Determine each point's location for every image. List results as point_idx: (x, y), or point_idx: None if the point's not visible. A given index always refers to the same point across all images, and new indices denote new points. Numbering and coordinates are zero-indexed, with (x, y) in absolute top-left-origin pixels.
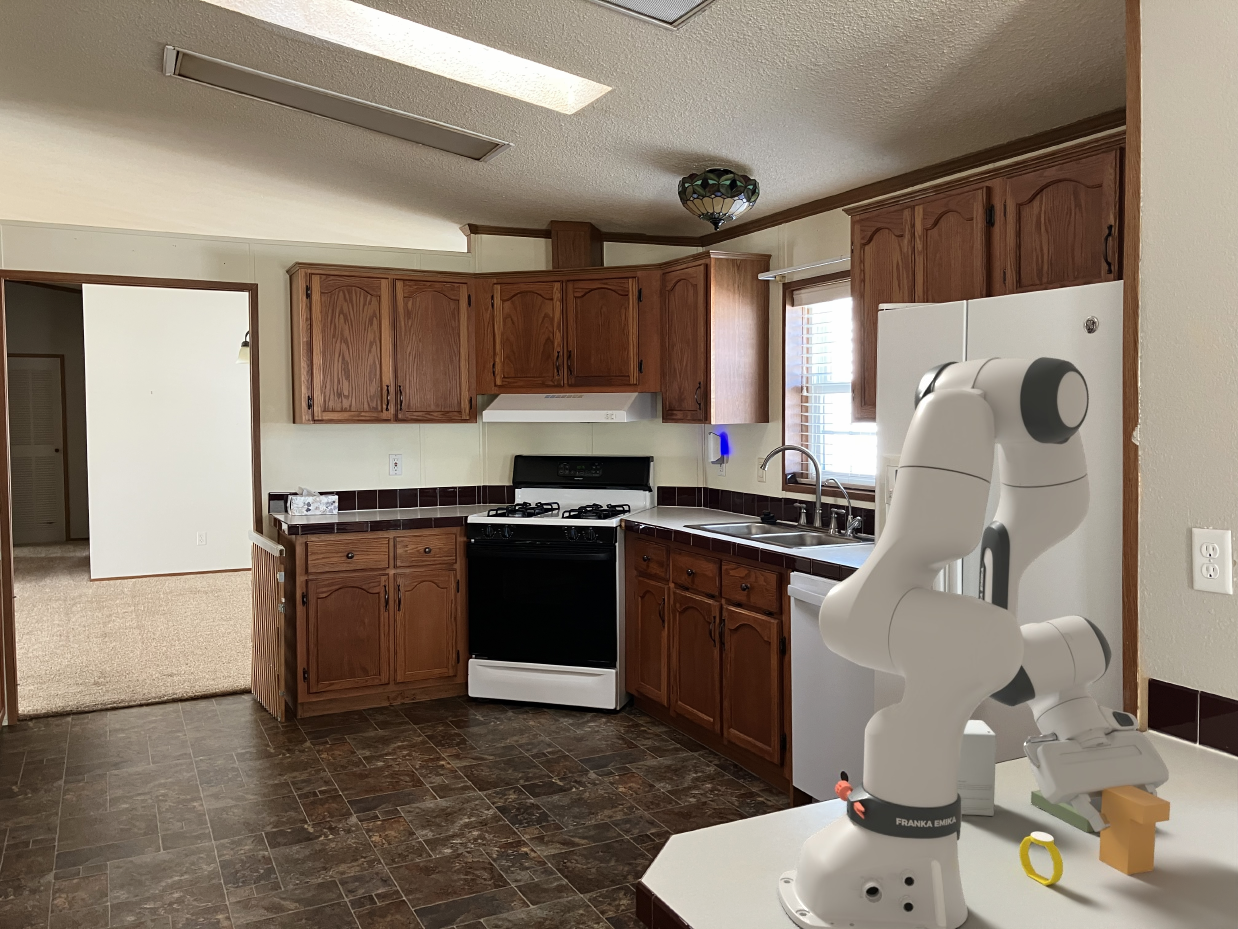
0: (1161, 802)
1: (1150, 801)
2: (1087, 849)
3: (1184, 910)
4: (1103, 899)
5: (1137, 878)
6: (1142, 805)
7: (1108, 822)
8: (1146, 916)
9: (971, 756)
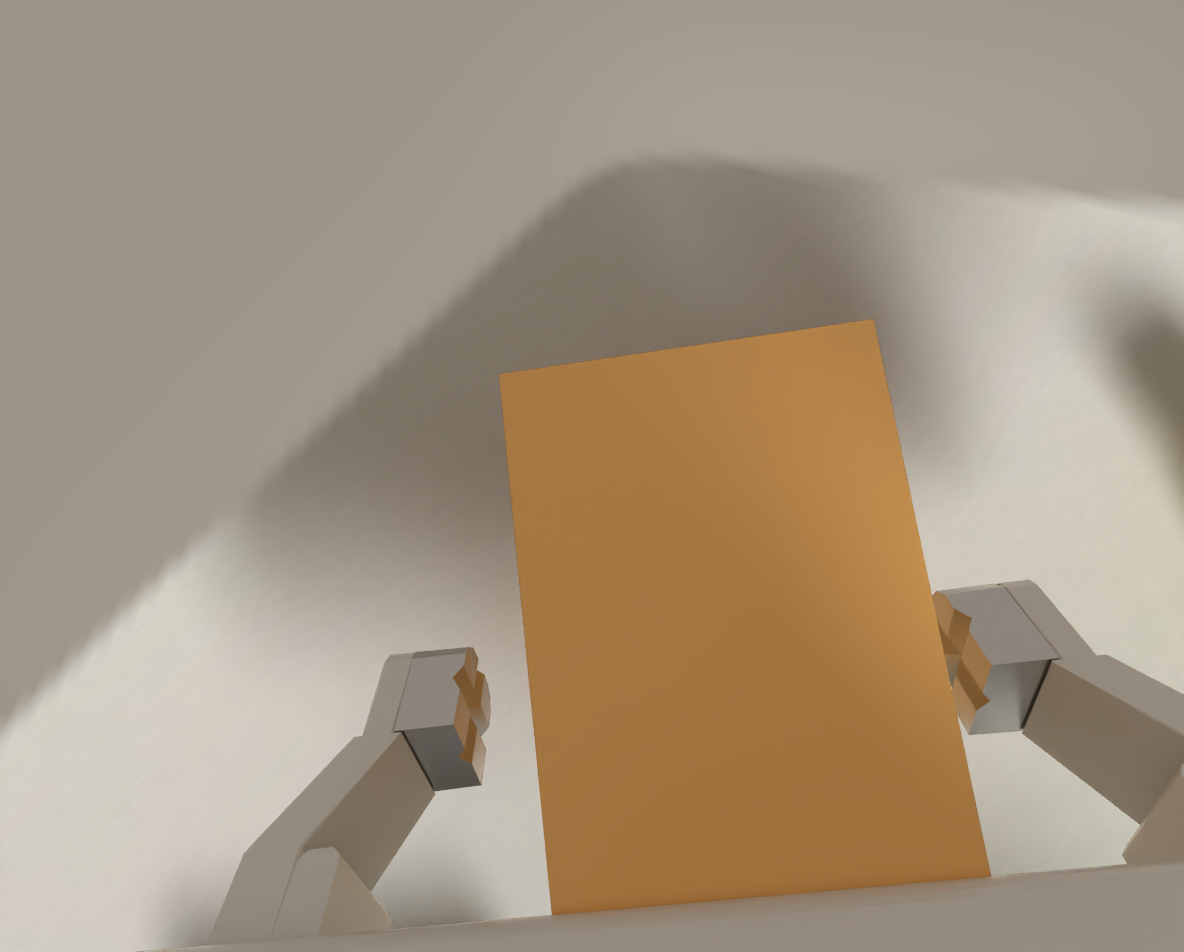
0: (596, 380)
1: (694, 424)
2: None
3: (741, 221)
4: (1047, 350)
5: None
6: (867, 342)
7: (960, 603)
8: (946, 199)
9: None
